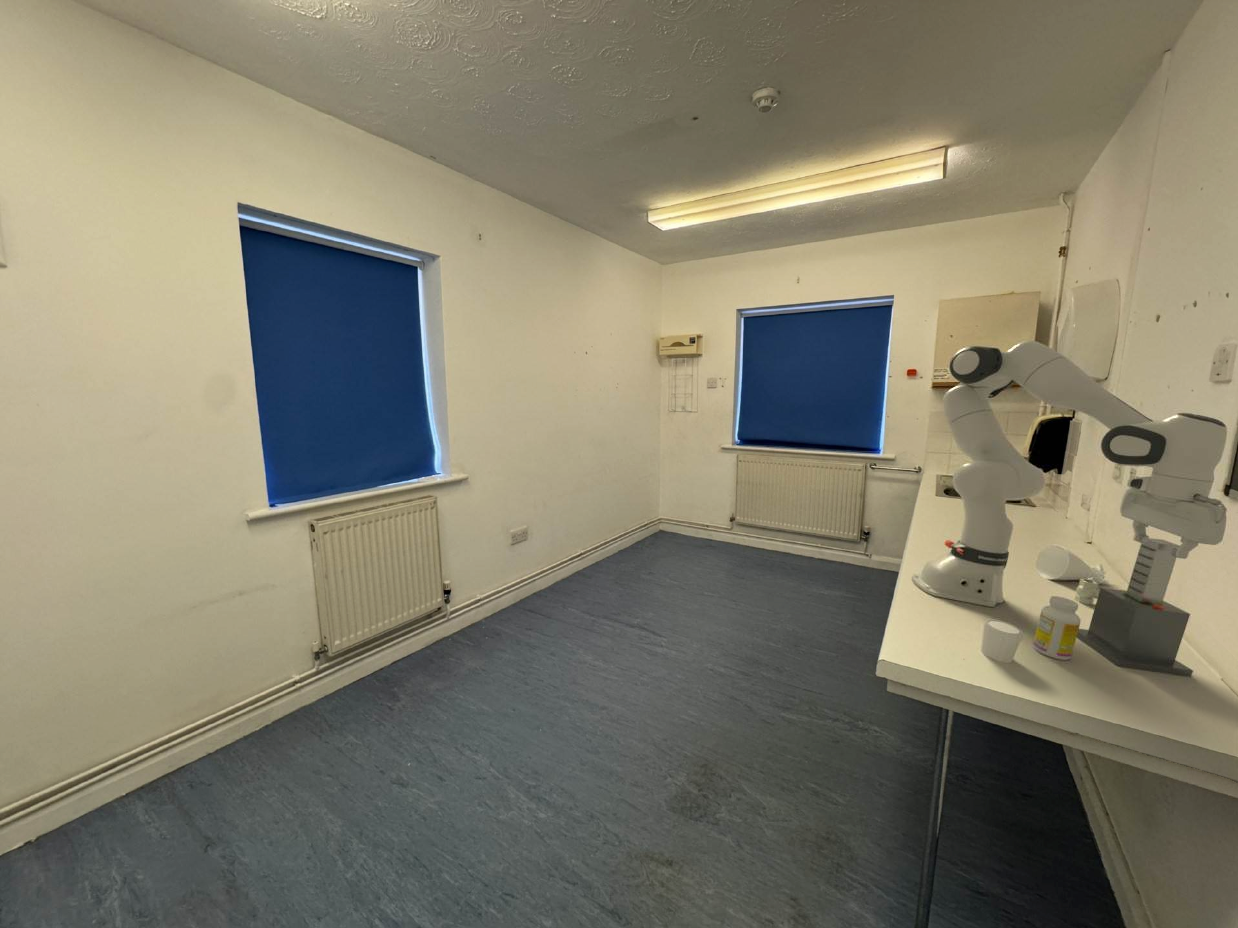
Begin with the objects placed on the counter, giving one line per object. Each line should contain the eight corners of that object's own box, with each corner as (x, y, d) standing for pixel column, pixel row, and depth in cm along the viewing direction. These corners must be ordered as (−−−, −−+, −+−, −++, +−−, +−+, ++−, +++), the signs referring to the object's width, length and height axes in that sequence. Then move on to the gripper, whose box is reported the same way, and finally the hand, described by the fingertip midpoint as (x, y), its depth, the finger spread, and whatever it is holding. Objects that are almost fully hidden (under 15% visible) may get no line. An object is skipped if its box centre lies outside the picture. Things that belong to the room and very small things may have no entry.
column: (1132, 626, 109) (1157, 543, 105) (1116, 617, 113) (1140, 537, 109) (1154, 629, 109) (1181, 546, 105) (1138, 620, 113) (1163, 539, 109)
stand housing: (1117, 666, 107) (1135, 607, 104) (1070, 633, 120) (1085, 580, 117) (1191, 676, 105) (1211, 617, 102) (1134, 641, 118) (1151, 588, 115)
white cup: (978, 642, 112) (985, 615, 111) (1016, 655, 108) (1023, 626, 107) (976, 655, 107) (983, 626, 106) (1015, 668, 103) (1023, 638, 102)
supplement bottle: (1071, 654, 110) (1086, 602, 108) (1069, 664, 106) (1084, 611, 103) (1033, 641, 115) (1047, 591, 113) (1029, 650, 111) (1043, 599, 108)
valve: (1073, 603, 139) (1133, 619, 131) (1079, 581, 137) (1140, 597, 129) (1073, 596, 143) (1131, 611, 136) (1079, 575, 142) (1137, 589, 134)
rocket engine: (1116, 554, 154) (1061, 538, 154) (1131, 587, 147) (1073, 570, 147) (1083, 569, 163) (1031, 553, 164) (1095, 601, 156) (1041, 584, 157)
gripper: (1247, 504, 94) (1223, 570, 97) (1152, 480, 114) (1135, 535, 117) (1209, 500, 95) (1187, 565, 98) (1122, 477, 115) (1105, 532, 118)
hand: (1158, 549), depth 107 cm, fingers open, 8 cm apart
